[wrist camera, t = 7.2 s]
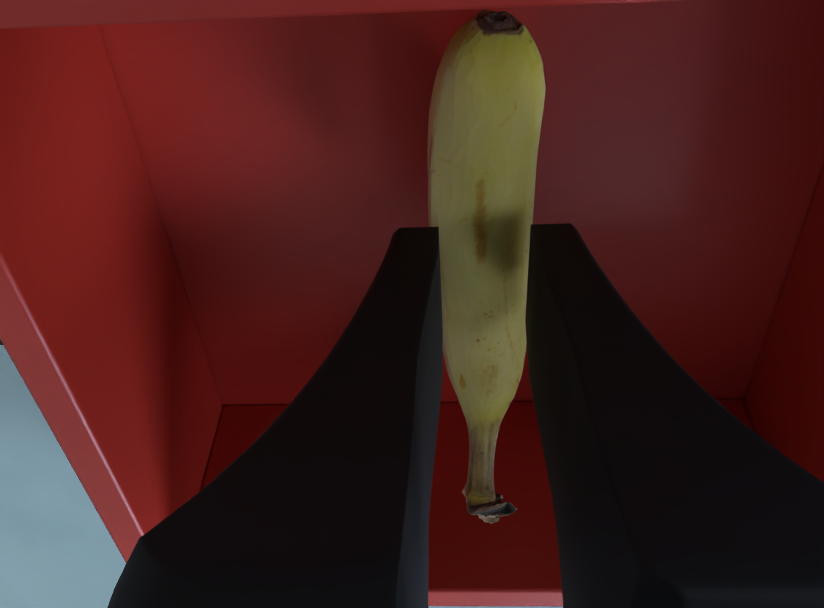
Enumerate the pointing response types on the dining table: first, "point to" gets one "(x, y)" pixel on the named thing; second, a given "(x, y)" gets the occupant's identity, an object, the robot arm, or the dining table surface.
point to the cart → (387, 227)
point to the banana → (485, 224)
